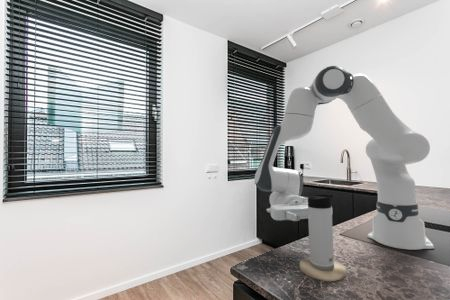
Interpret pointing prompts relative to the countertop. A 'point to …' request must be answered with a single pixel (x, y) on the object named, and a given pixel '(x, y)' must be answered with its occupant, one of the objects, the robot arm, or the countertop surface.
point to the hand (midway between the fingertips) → (312, 217)
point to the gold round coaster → (330, 275)
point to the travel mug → (320, 232)
